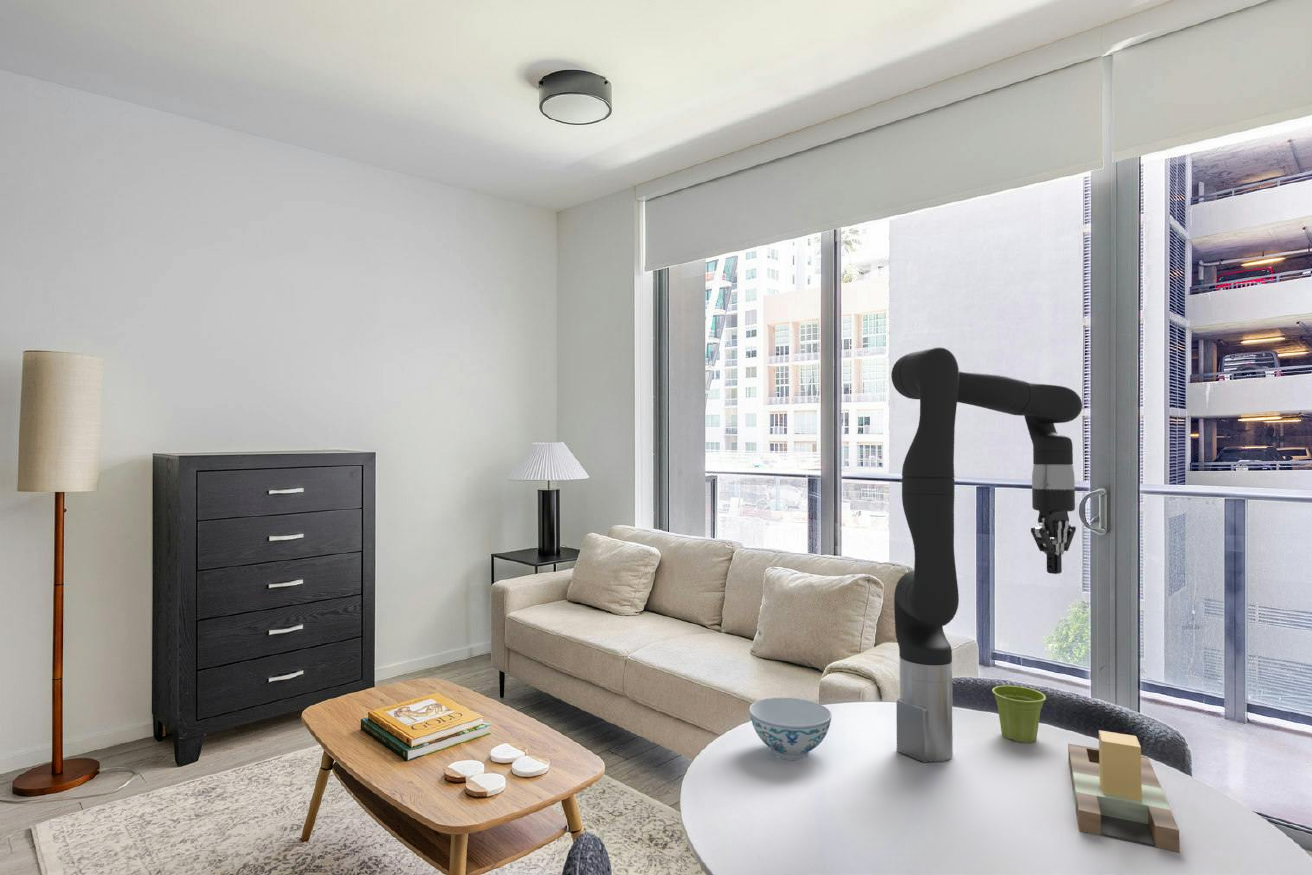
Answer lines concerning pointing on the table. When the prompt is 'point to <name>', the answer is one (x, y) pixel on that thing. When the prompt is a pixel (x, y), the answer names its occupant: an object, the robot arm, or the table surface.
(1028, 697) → the plant pot
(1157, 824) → the box
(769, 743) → the chinaware
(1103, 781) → the ochre block
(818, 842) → the table surface
